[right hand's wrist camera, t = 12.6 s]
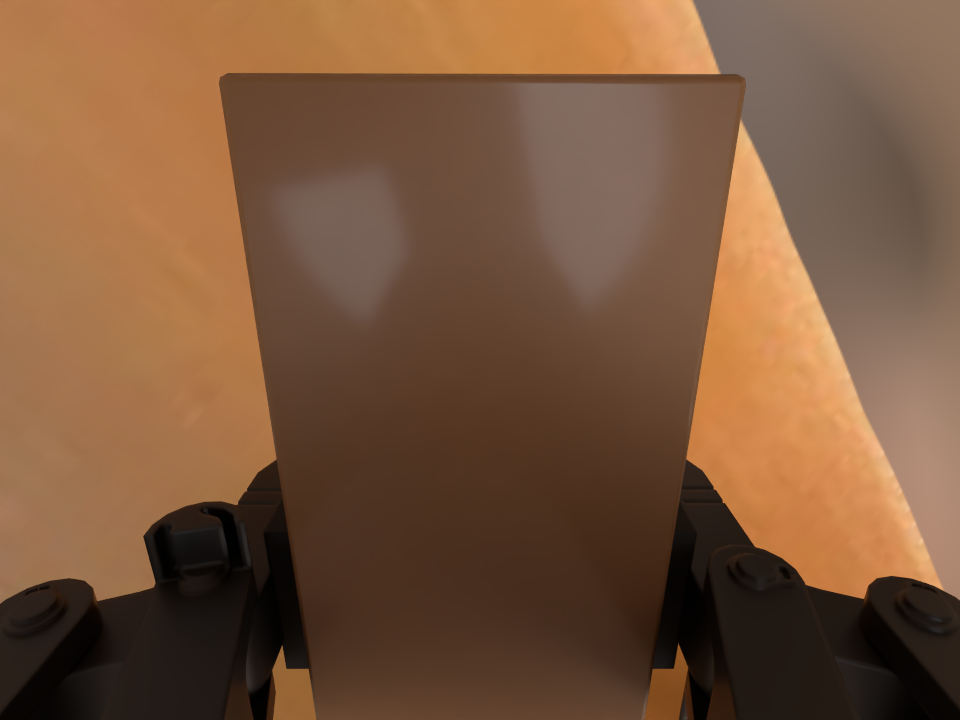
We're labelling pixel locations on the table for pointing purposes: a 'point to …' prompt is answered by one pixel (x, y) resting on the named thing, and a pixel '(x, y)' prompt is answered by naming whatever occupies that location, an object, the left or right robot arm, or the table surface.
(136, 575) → the table surface
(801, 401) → the table surface
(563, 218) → the bar
